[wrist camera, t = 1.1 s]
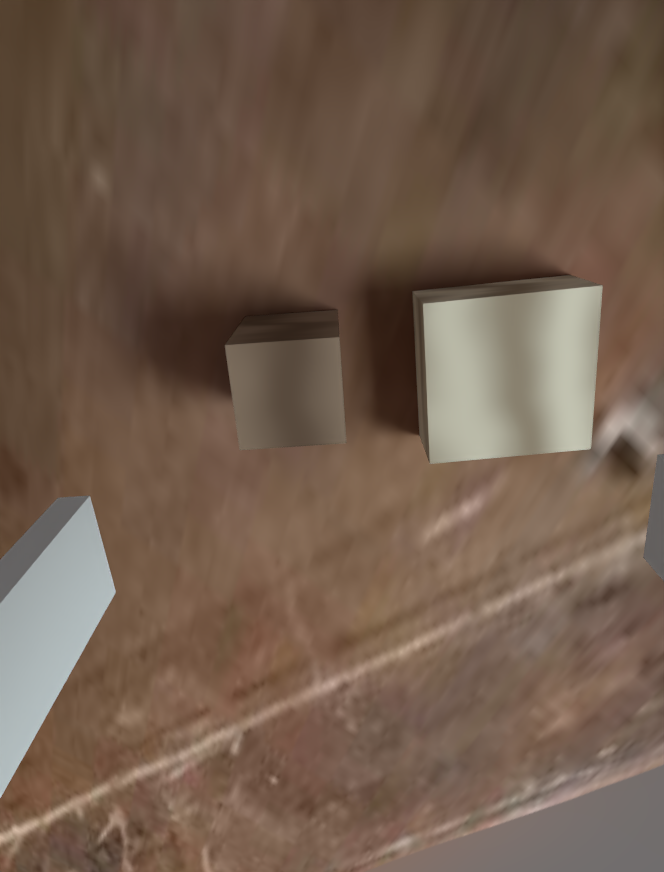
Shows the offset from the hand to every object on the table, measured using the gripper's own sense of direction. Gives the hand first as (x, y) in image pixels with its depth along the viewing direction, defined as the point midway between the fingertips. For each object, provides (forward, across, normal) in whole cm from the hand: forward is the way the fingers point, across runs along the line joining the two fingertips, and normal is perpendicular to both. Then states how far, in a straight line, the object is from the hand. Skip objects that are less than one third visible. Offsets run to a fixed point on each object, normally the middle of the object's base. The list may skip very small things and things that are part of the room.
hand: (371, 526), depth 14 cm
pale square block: (+26, +9, -4) cm, 28 cm away
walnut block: (+26, -4, -2) cm, 26 cm away
